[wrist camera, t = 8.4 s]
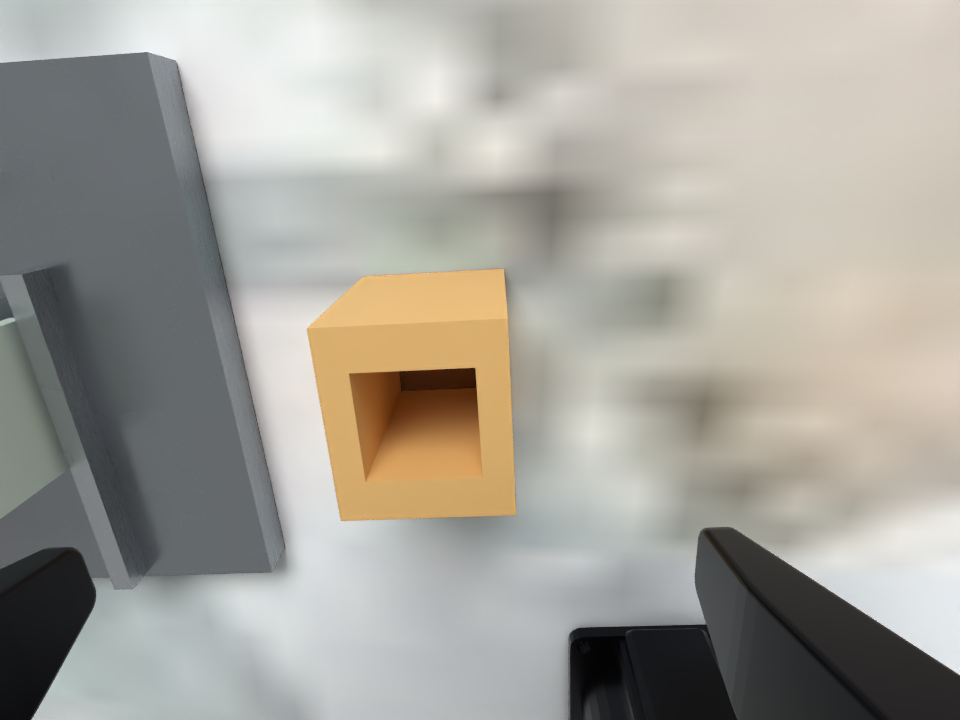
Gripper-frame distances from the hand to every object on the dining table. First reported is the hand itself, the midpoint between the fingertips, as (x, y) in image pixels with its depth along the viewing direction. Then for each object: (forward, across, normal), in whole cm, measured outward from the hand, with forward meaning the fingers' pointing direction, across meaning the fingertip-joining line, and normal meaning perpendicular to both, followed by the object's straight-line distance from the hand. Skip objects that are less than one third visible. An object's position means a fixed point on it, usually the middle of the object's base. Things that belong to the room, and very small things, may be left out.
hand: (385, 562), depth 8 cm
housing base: (+9, +14, -1) cm, 17 cm away
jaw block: (+9, 0, 0) cm, 9 cm away
